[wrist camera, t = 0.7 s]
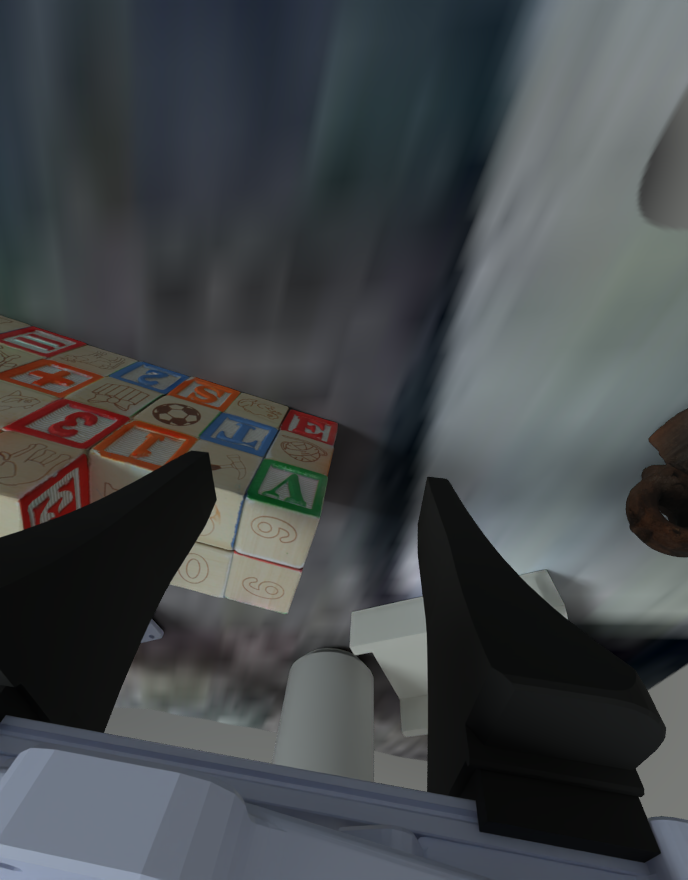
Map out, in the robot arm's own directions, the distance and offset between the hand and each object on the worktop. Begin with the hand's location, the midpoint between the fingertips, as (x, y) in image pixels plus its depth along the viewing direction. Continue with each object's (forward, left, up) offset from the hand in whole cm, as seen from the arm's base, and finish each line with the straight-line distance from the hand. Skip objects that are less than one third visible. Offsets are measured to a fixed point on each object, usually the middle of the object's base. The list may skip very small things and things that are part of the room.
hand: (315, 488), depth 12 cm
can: (-11, -25, -11) cm, 29 cm away
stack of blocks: (-11, +2, -11) cm, 16 cm away
